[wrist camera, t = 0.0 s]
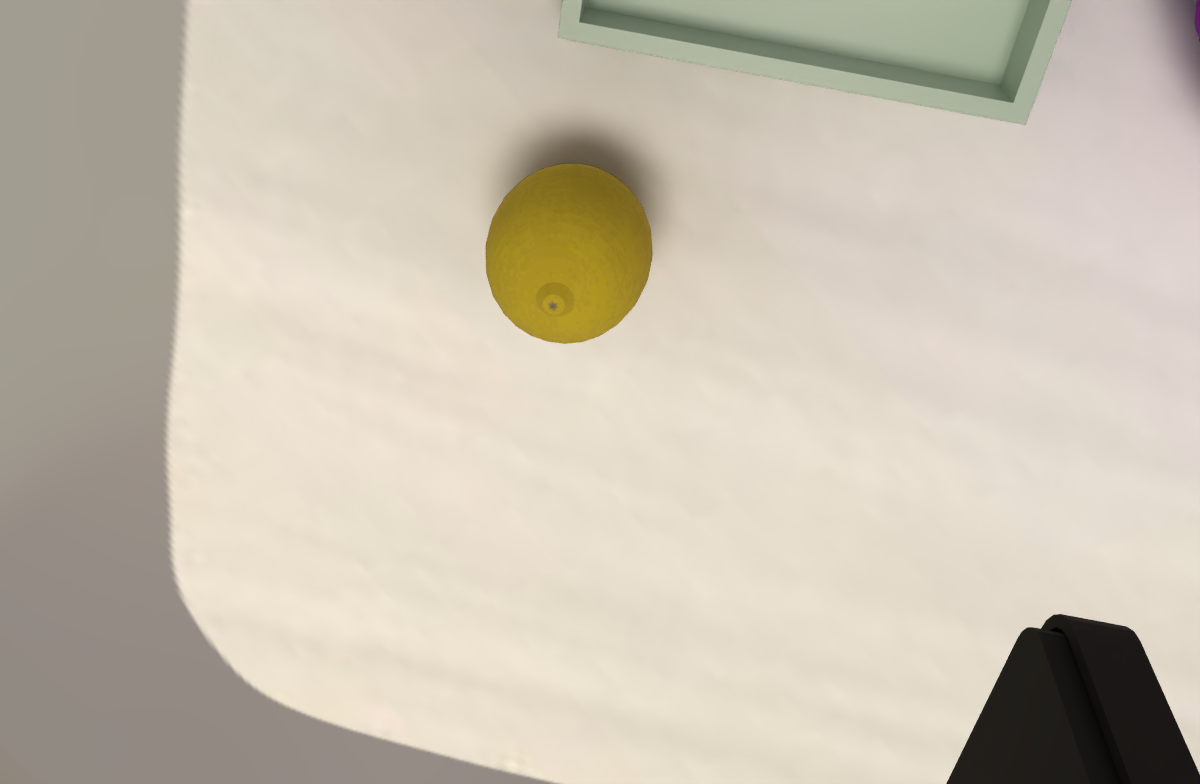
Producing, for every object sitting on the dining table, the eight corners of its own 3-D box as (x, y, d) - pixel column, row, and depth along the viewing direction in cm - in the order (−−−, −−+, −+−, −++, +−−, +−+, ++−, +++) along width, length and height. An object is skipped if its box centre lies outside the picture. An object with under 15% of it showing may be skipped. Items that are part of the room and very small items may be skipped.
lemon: (487, 154, 40) (437, 244, 33) (635, 116, 39) (615, 201, 32) (534, 289, 43) (498, 398, 36) (675, 257, 41) (664, 364, 34)
